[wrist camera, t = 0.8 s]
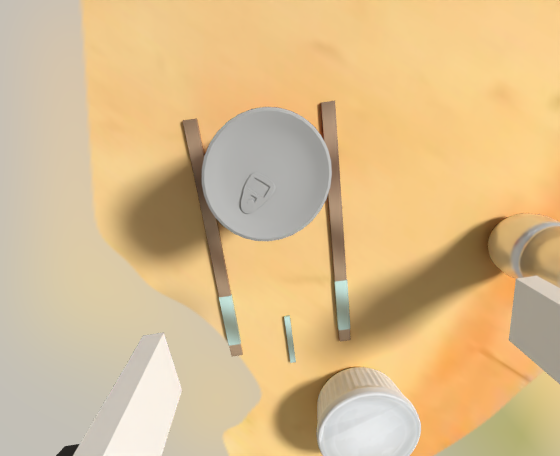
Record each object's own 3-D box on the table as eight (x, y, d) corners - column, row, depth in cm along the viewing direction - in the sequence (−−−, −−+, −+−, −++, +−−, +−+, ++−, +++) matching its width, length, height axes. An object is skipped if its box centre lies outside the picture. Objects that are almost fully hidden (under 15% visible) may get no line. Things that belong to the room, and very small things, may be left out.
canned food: (215, 192, 29) (187, 225, 18) (236, 105, 27) (217, 85, 16) (292, 213, 30) (308, 256, 19) (318, 131, 28) (352, 128, 17)
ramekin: (343, 343, 35) (356, 378, 30) (419, 379, 37) (444, 418, 32) (292, 411, 37) (297, 454, 32) (366, 441, 39) (381, 487, 34)
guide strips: (182, 120, 27) (181, 120, 26) (334, 101, 27) (335, 100, 26) (234, 368, 35) (234, 371, 34) (351, 352, 35) (351, 355, 34)
